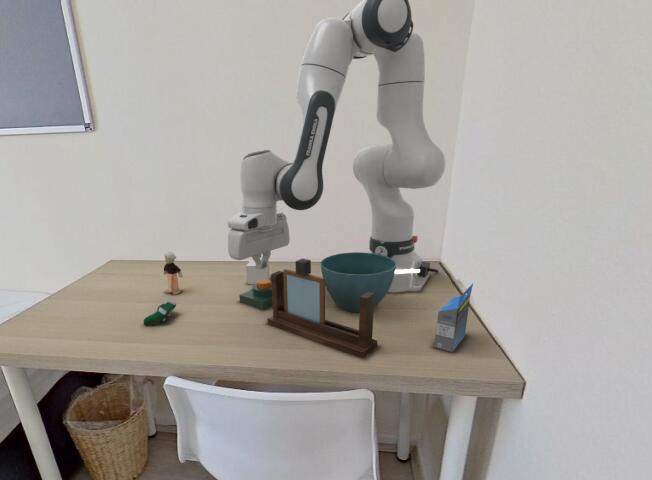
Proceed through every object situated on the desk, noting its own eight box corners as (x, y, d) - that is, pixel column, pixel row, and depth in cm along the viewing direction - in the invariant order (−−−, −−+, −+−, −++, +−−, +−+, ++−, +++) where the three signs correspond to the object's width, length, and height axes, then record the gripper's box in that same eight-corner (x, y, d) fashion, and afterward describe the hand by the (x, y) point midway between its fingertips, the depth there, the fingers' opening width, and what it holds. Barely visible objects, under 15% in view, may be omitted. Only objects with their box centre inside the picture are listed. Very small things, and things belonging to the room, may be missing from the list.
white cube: (251, 277, 128) (250, 260, 125) (270, 278, 126) (269, 260, 124) (247, 284, 122) (246, 265, 120) (266, 284, 121) (265, 265, 119)
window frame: (283, 315, 99) (281, 268, 95) (377, 346, 83) (380, 291, 78) (267, 324, 95) (264, 275, 91) (362, 358, 79) (365, 301, 74)
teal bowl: (371, 329, 90) (374, 279, 86) (307, 310, 101) (306, 265, 97) (404, 303, 103) (408, 258, 98) (344, 289, 114) (344, 248, 110)
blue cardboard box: (447, 331, 88) (453, 279, 83) (465, 336, 85) (473, 282, 81) (433, 347, 81) (439, 292, 77) (453, 353, 79) (460, 296, 75)
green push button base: (266, 290, 116) (266, 277, 115) (290, 297, 111) (289, 283, 109) (239, 302, 109) (238, 288, 107) (263, 310, 103) (262, 295, 102)
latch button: (264, 284, 111) (263, 278, 110) (273, 286, 109) (273, 281, 108) (255, 288, 108) (254, 282, 108) (264, 290, 106) (264, 284, 106)
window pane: (288, 314, 95) (286, 255, 90) (327, 327, 88) (327, 263, 83) (282, 318, 94) (280, 257, 88) (321, 331, 87) (321, 266, 81)
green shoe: (152, 333, 98) (165, 318, 95) (140, 322, 97) (153, 307, 95) (168, 317, 106) (181, 303, 104) (157, 307, 106) (170, 293, 103)
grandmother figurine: (160, 293, 118) (153, 252, 113) (168, 289, 121) (162, 249, 117) (181, 296, 115) (176, 254, 111) (189, 291, 118) (183, 250, 114)
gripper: (277, 210, 111) (278, 257, 116) (222, 222, 97) (226, 275, 101) (294, 212, 107) (295, 261, 112) (240, 225, 93) (243, 280, 97)
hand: (261, 268), depth 106 cm, fingers closed
